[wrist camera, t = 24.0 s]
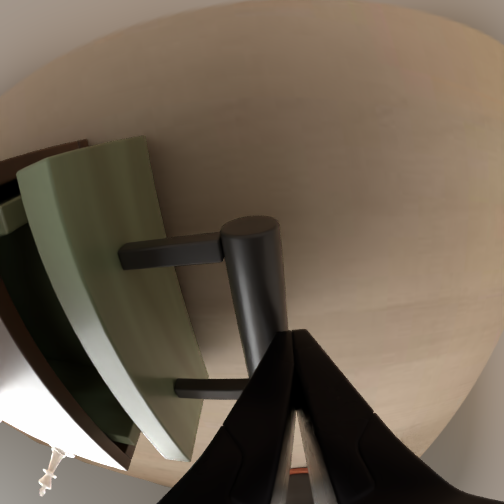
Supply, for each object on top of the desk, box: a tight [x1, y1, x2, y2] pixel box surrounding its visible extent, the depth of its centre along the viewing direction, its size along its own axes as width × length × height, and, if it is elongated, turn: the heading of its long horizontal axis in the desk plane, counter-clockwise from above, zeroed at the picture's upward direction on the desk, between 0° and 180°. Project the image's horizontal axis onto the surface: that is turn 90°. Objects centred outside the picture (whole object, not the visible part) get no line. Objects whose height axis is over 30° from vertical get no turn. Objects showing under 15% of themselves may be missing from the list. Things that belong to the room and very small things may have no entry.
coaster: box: [290, 468, 308, 475], centre depth 22 cm, size 6×6×1 cm
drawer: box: [0, 135, 288, 462], centre depth 9 cm, size 17×12×5 cm
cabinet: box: [0, 139, 141, 471], centre depth 10 cm, size 13×13×7 cm
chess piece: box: [39, 444, 75, 496], centre depth 22 cm, size 5×5×10 cm
